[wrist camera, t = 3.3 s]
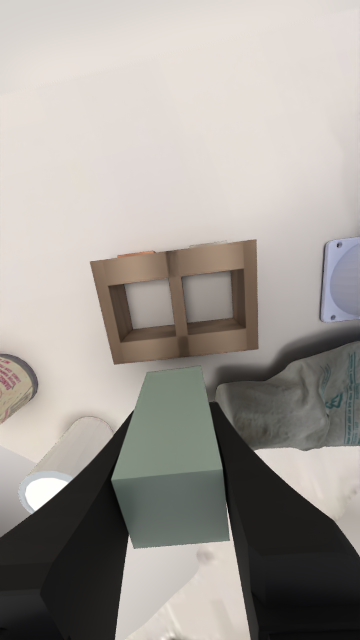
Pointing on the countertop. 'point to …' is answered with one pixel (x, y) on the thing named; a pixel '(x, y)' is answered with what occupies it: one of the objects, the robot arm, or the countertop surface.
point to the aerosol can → (15, 385)
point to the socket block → (179, 302)
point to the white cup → (64, 461)
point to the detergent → (299, 403)
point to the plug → (172, 465)
